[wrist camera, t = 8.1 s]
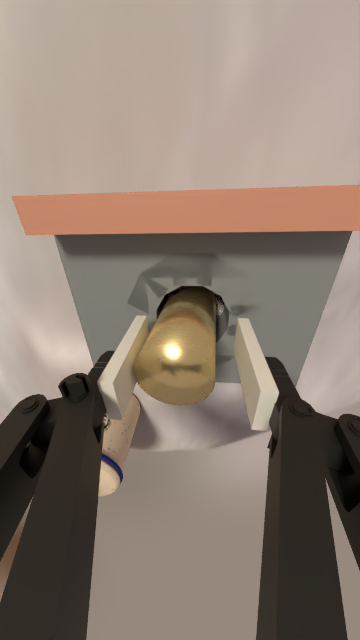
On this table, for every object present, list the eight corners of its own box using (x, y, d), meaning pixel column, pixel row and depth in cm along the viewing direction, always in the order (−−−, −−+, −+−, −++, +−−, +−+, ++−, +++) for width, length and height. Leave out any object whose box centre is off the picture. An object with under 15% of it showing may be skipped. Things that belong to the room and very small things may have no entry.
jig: (109, 354, 24) (84, 394, 19) (71, 199, 16) (11, 196, 11) (282, 361, 22) (307, 408, 17) (333, 191, 15) (406, 183, 9)
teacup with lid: (136, 380, 26) (95, 490, 16) (147, 423, 30) (120, 531, 20) (51, 378, 27) (-36, 478, 17) (73, 420, 32) (14, 519, 22)
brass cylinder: (170, 321, 21) (139, 400, 13) (168, 279, 19) (128, 340, 10) (214, 324, 21) (212, 409, 12) (217, 281, 18) (217, 347, 10)
